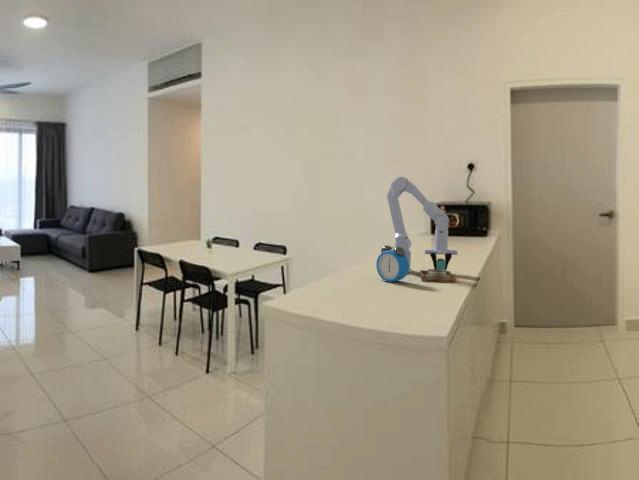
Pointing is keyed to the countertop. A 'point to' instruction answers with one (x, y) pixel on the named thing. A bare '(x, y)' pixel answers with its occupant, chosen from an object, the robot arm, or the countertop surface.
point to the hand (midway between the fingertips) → (440, 269)
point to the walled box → (436, 275)
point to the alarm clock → (392, 264)
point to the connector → (440, 263)
